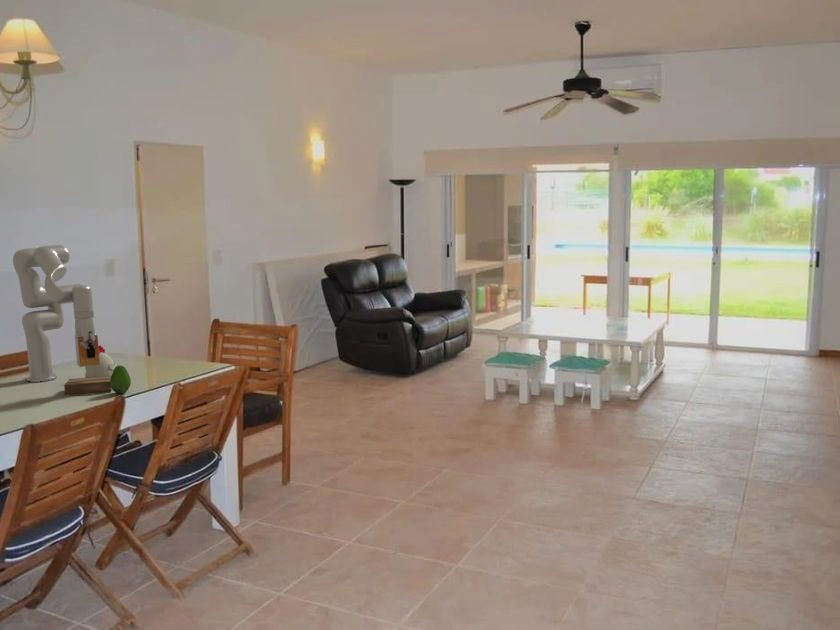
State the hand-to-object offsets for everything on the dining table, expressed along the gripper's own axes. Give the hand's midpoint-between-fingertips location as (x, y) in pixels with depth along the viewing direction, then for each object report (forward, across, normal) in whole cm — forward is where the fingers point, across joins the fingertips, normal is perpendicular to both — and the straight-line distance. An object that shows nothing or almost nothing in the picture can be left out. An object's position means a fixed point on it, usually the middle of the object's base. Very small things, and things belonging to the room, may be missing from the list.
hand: (87, 356), depth 337 cm
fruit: (+15, +14, +7) cm, 22 cm away
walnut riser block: (+15, 0, 0) cm, 15 cm away
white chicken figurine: (+15, -22, +14) cm, 30 cm away
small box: (+4, 0, 0) cm, 4 cm away
